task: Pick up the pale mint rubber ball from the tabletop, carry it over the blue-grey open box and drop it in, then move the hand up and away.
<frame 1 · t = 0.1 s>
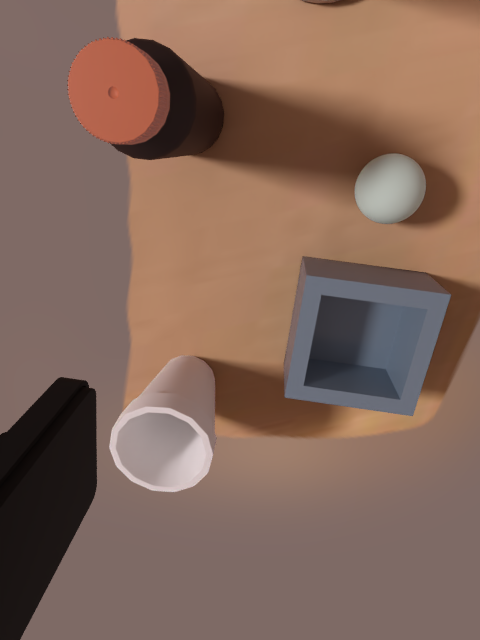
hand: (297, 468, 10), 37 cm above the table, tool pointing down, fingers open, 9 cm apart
bottle: (188, 116, 41), on the table
ball: (389, 189, 39), point 3 cm above the table
foam cup: (188, 378, 52), on the table
blue-grey open box: (351, 321, 47), on the table
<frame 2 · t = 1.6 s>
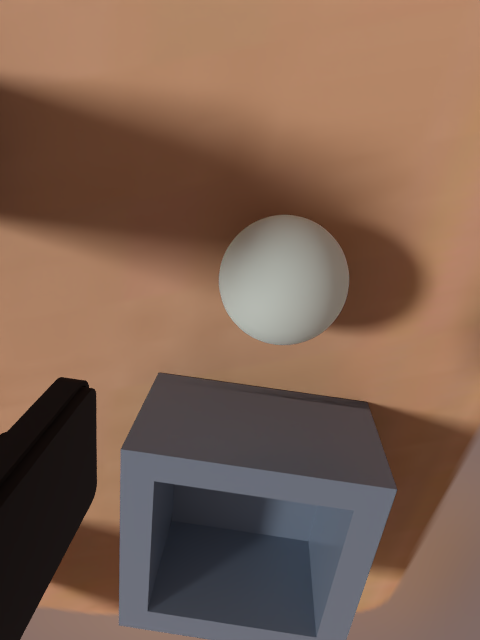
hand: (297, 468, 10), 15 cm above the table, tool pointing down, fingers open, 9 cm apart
ball: (283, 280, 20), point 3 cm above the table
blue-grey open box: (249, 469, 29), on the table
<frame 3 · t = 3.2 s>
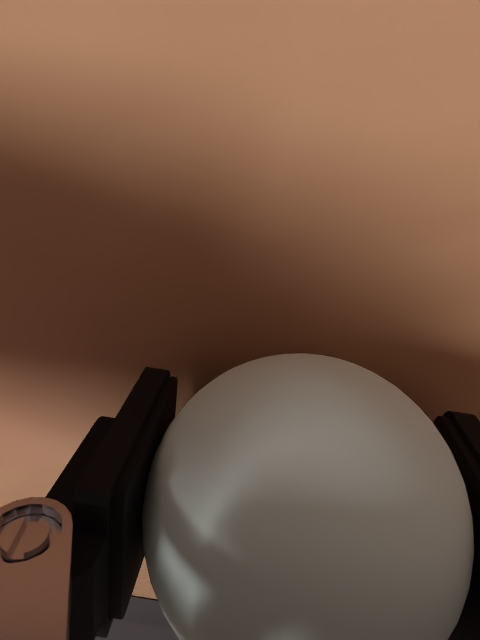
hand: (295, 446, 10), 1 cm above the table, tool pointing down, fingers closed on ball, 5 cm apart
ball: (299, 507, 9), point 3 cm above the table, touching gripper
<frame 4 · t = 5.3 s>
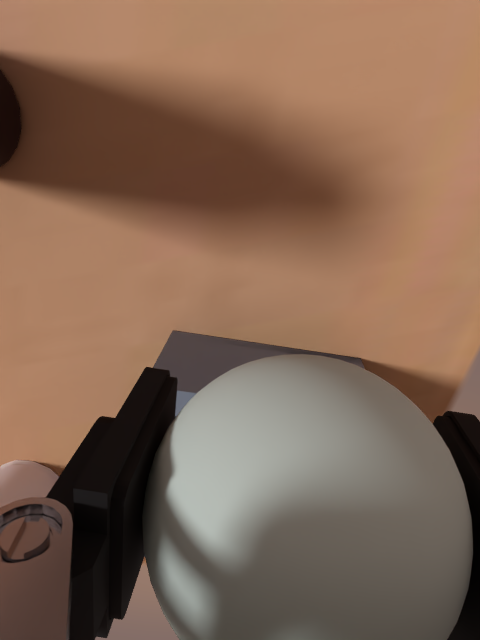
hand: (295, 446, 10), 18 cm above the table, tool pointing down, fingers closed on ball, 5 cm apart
ball: (299, 507, 9), point 20 cm above the table, touching gripper
foam cup: (32, 488, 36), on the table
blue-grey open box: (253, 422, 31), on the table
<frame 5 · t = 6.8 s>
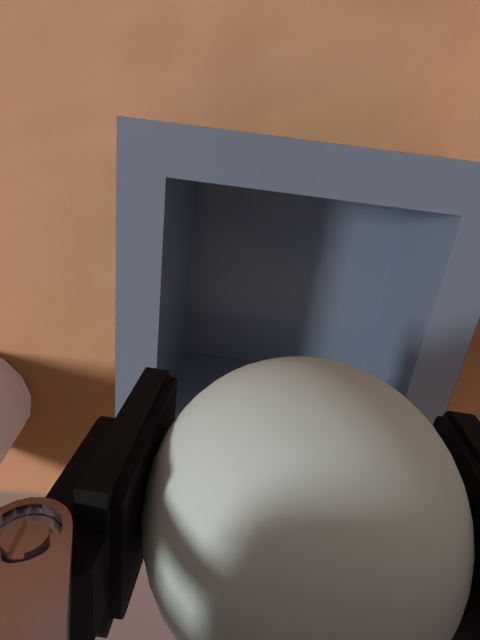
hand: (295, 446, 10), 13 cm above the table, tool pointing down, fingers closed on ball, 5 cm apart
ball: (299, 510, 8), point 15 cm above the table, touching gripper
blue-grey open box: (285, 274, 22), on the table
when the fingers open (11 cm above the table, at t = 7.6 s): ball drops 9 cm, resting on blue-grey open box.
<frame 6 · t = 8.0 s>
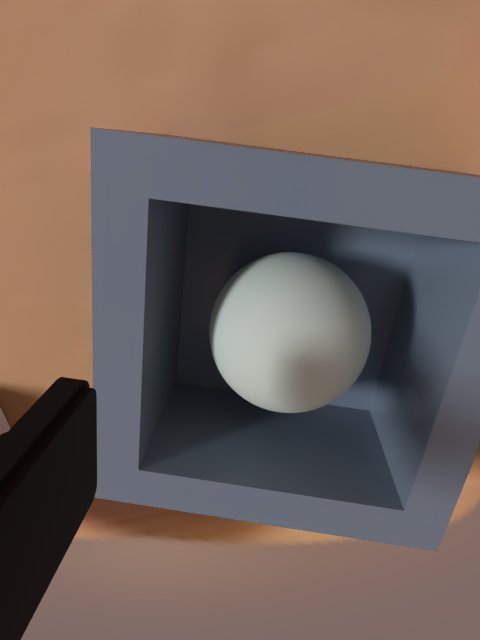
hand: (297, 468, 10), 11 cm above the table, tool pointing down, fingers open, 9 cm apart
ball: (288, 332, 17), point 4 cm above the table, touching blue-grey open box
blue-grey open box: (287, 299, 20), on the table
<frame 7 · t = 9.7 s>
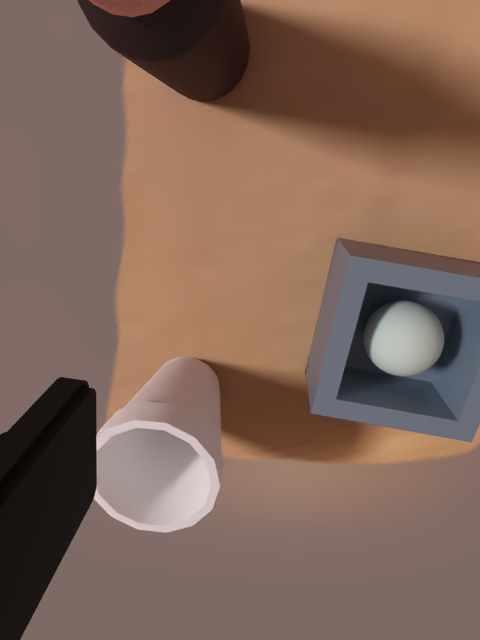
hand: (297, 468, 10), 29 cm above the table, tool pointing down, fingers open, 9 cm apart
bottle: (204, 51, 32), on the table
ball: (402, 338, 35), point 4 cm above the table, touching blue-grey open box
foam cup: (187, 385, 42), on the table
blue-grey open box: (391, 321, 38), on the table
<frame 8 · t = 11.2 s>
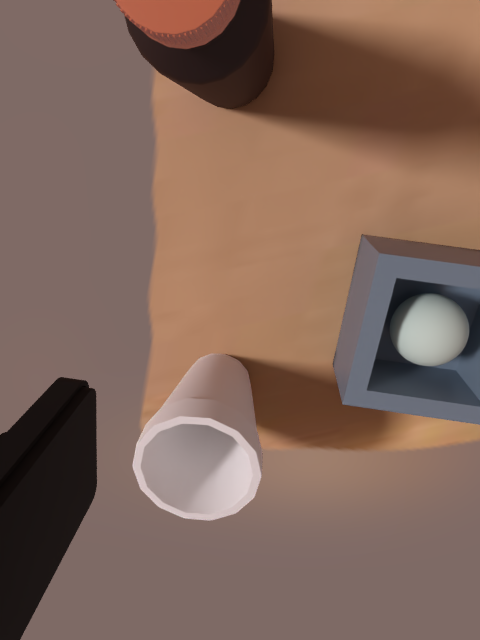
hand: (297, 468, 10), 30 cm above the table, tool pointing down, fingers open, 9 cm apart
bottle: (229, 60, 33), on the table
ball: (428, 329, 36), point 4 cm above the table, touching blue-grey open box
foam cup: (219, 380, 44), on the table
blue-grey open box: (415, 313, 39), on the table
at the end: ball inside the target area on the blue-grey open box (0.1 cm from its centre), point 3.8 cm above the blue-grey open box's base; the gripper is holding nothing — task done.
